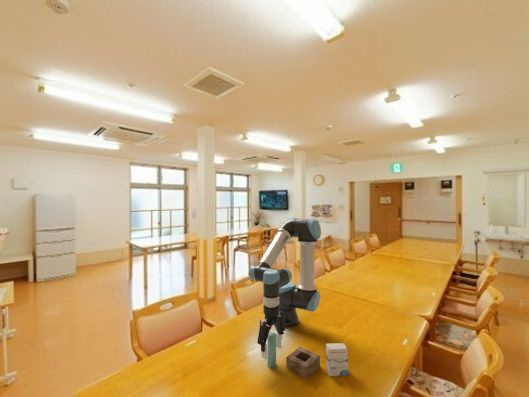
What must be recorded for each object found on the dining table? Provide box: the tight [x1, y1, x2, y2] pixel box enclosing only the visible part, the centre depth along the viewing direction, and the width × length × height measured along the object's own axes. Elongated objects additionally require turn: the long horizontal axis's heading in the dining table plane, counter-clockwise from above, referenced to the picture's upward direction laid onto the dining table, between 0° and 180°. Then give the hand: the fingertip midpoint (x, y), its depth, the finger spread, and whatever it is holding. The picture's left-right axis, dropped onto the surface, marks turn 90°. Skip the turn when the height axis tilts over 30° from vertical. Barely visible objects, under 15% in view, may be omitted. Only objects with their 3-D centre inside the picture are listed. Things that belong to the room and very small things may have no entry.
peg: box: [266, 331, 277, 369], centre depth 118 cm, size 4×4×14 cm
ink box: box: [325, 342, 349, 377], centre depth 113 cm, size 8×5×12 cm, turn 92°
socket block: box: [285, 346, 321, 380], centre depth 116 cm, size 11×11×5 cm
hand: (271, 352), depth 118 cm, fingers open, 10 cm apart
